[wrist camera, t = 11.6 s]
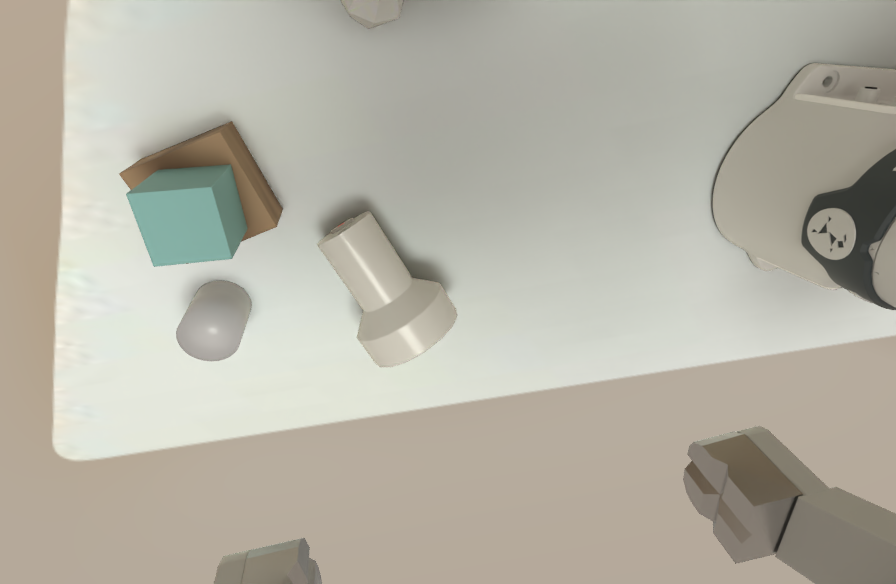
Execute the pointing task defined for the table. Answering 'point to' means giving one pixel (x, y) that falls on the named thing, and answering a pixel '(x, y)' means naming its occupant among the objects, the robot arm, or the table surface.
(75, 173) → the table surface
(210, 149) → the brown square block
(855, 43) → the table surface
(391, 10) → the toy
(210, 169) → the teal cube
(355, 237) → the spotlight
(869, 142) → the robot arm
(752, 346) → the table surface
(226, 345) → the grey cylinder
